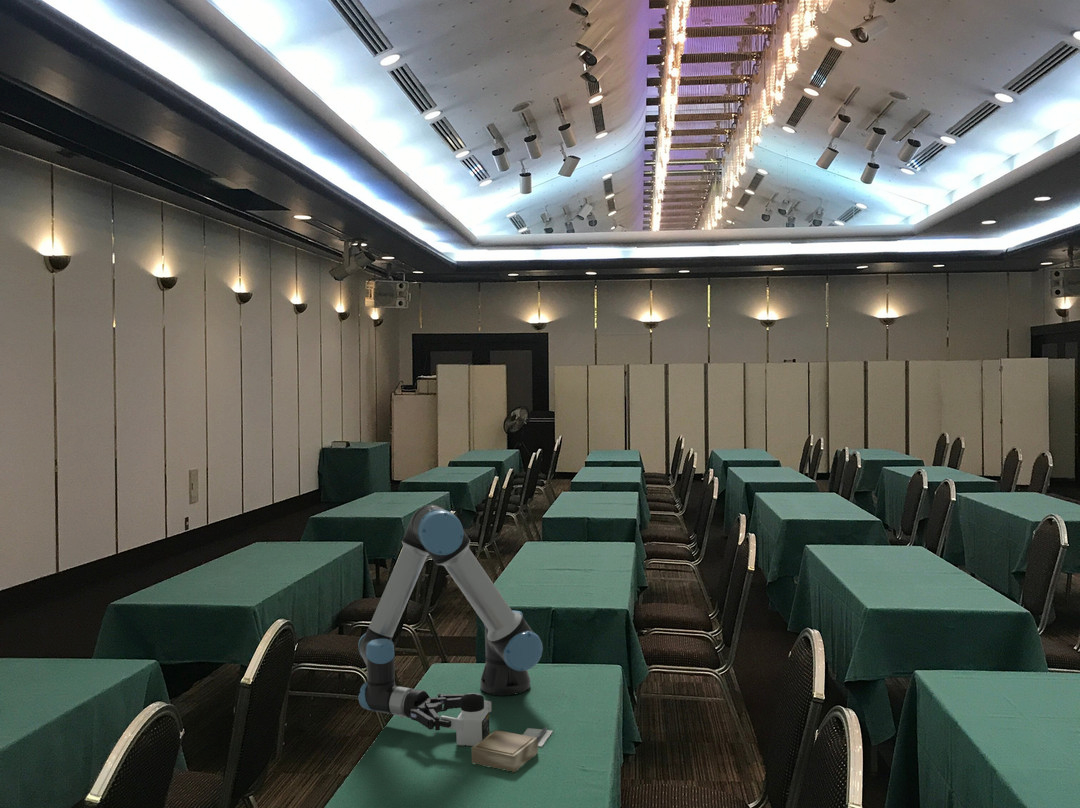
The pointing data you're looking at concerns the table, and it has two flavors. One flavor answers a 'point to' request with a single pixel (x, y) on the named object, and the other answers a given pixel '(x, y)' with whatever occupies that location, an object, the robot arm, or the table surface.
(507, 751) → the beech tray
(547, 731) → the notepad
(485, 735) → the medicine bottle
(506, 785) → the table surface
